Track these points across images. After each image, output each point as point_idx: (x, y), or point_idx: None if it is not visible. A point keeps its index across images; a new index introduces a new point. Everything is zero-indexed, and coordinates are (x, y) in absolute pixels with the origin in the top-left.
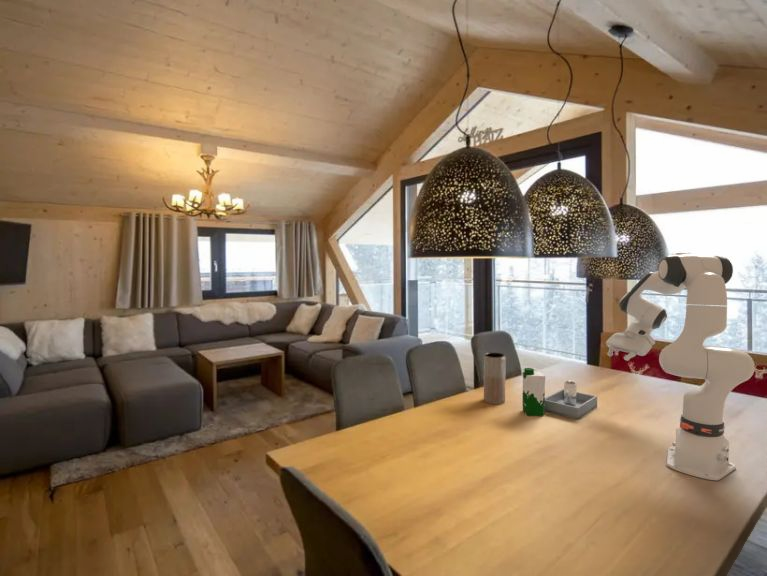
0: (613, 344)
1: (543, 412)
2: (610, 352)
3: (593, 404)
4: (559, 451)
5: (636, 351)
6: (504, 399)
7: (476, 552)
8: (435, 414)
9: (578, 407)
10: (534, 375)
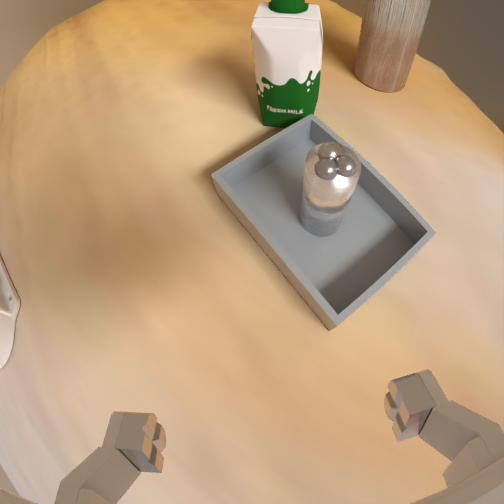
0: (486, 481)
1: (263, 118)
2: (402, 398)
3: (305, 296)
4: (94, 107)
5: (21, 498)
6: (369, 80)
7: (35, 51)
8: None
9: (217, 179)
10: (262, 10)
